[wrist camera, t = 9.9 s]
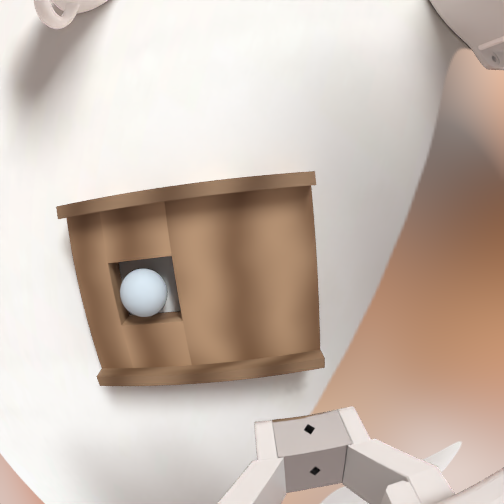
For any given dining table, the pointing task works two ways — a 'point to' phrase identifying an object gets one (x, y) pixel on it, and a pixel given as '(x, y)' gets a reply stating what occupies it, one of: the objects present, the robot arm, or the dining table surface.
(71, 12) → the mug
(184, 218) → the wooden tray
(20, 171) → the dining table surface
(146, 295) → the ball
